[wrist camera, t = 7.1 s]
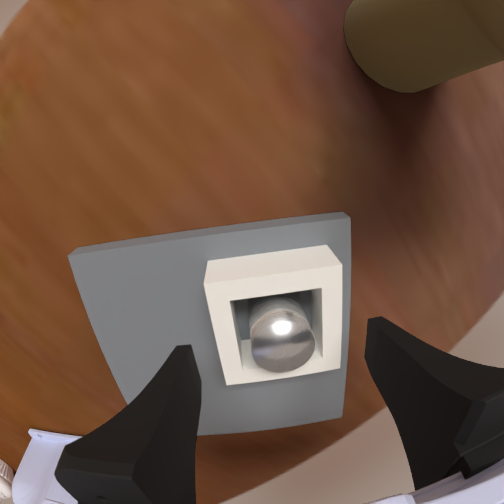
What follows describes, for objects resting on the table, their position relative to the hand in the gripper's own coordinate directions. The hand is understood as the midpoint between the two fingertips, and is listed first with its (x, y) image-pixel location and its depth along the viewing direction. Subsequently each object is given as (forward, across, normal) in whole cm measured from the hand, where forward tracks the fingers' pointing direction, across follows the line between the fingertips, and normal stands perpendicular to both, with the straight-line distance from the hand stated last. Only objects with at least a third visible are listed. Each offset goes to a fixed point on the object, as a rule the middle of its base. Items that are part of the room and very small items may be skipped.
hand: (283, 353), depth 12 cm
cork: (+5, -8, -13) cm, 16 cm away
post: (+4, 0, 0) cm, 4 cm away
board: (+5, +3, +3) cm, 6 cm away
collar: (+4, 0, 0) cm, 4 cm away
